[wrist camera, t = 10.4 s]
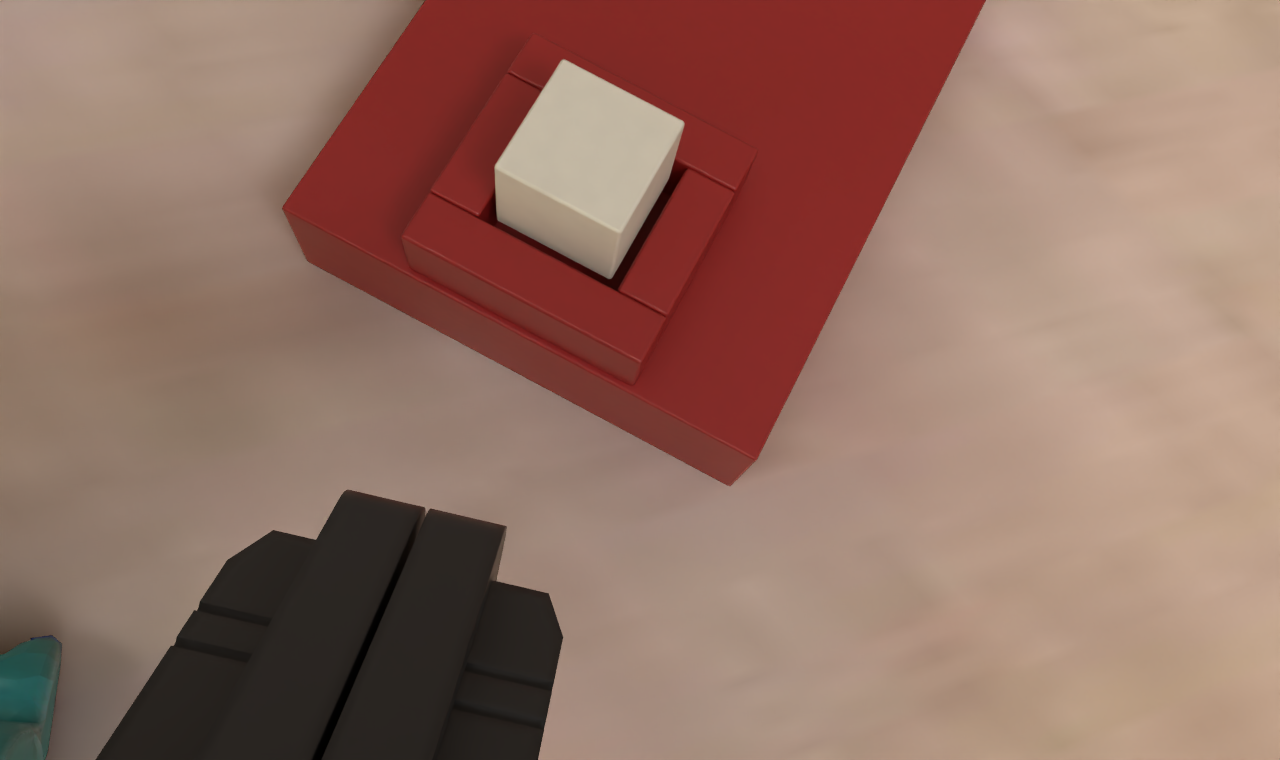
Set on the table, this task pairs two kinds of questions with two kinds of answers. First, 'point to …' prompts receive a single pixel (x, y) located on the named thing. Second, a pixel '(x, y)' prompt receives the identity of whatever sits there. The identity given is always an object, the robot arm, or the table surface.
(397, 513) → the robot arm
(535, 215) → the white cube
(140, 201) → the table surface
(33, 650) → the toy
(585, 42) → the red push button box
